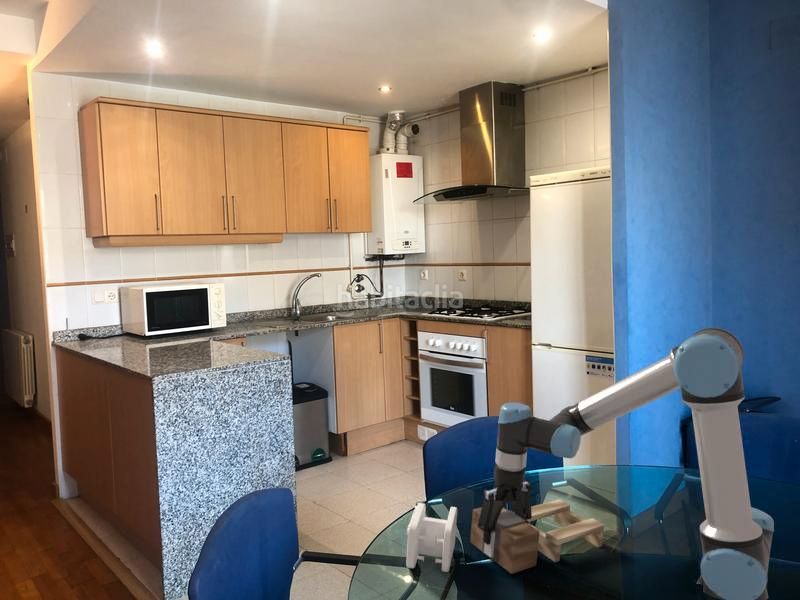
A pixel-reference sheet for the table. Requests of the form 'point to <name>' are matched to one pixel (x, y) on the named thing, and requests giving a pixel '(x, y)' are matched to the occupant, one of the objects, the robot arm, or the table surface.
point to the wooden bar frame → (564, 528)
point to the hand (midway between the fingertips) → (502, 550)
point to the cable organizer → (431, 537)
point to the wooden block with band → (509, 541)
